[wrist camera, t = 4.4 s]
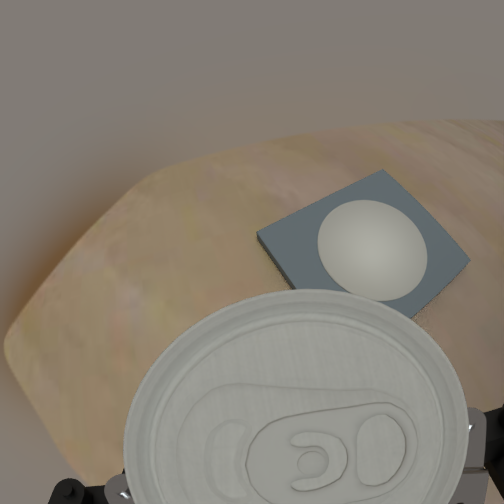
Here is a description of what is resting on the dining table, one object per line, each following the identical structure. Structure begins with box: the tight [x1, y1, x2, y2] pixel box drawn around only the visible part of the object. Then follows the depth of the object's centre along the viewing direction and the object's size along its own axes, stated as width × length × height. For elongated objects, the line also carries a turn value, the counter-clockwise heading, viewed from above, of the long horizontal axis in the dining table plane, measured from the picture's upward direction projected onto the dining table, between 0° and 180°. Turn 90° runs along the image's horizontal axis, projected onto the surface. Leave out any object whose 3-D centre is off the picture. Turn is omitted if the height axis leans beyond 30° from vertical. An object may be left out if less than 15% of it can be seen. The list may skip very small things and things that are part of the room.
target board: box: [256, 169, 471, 319], centre depth 21 cm, size 14×12×1 cm
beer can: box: [123, 289, 469, 504], centre depth 9 cm, size 6×6×15 cm
